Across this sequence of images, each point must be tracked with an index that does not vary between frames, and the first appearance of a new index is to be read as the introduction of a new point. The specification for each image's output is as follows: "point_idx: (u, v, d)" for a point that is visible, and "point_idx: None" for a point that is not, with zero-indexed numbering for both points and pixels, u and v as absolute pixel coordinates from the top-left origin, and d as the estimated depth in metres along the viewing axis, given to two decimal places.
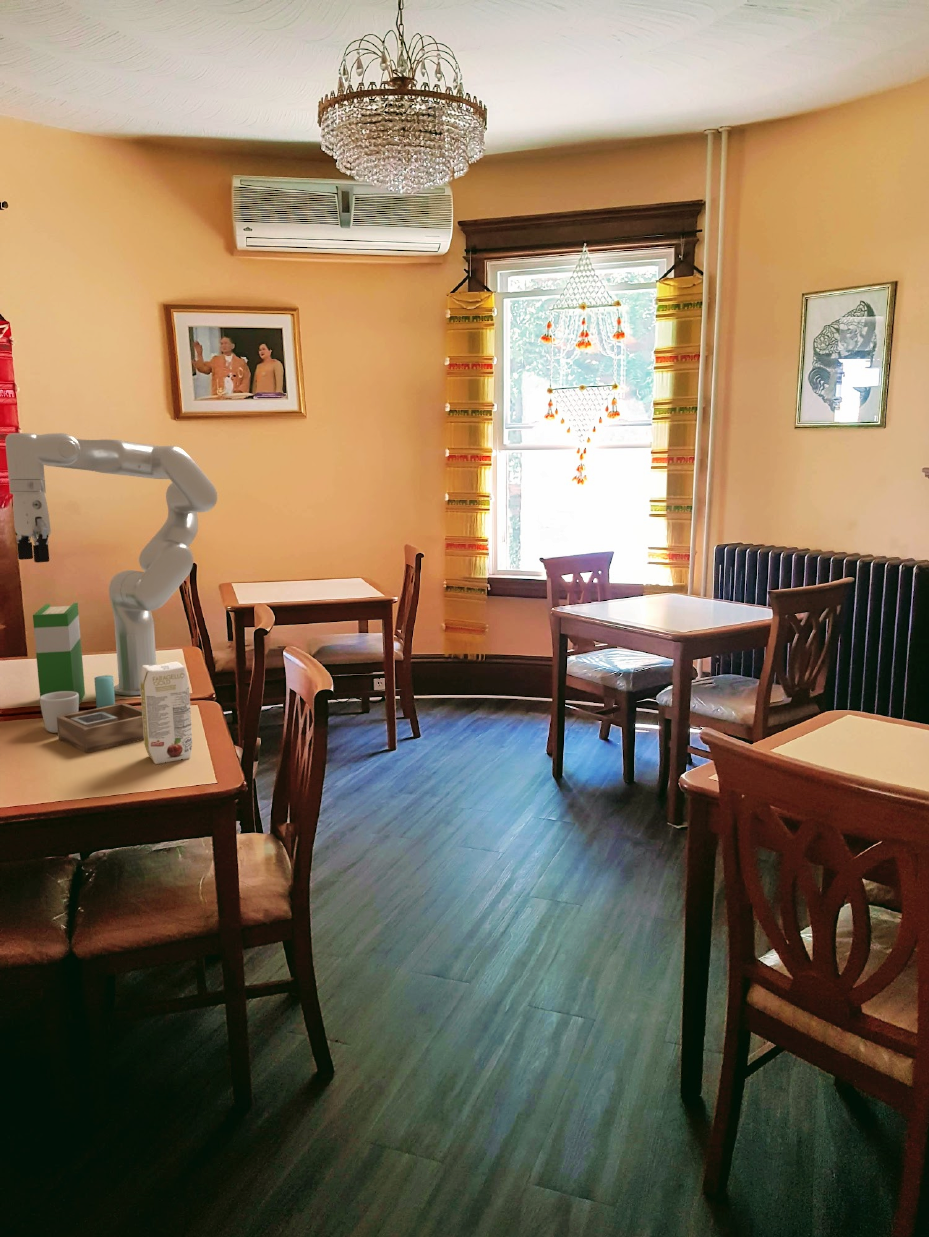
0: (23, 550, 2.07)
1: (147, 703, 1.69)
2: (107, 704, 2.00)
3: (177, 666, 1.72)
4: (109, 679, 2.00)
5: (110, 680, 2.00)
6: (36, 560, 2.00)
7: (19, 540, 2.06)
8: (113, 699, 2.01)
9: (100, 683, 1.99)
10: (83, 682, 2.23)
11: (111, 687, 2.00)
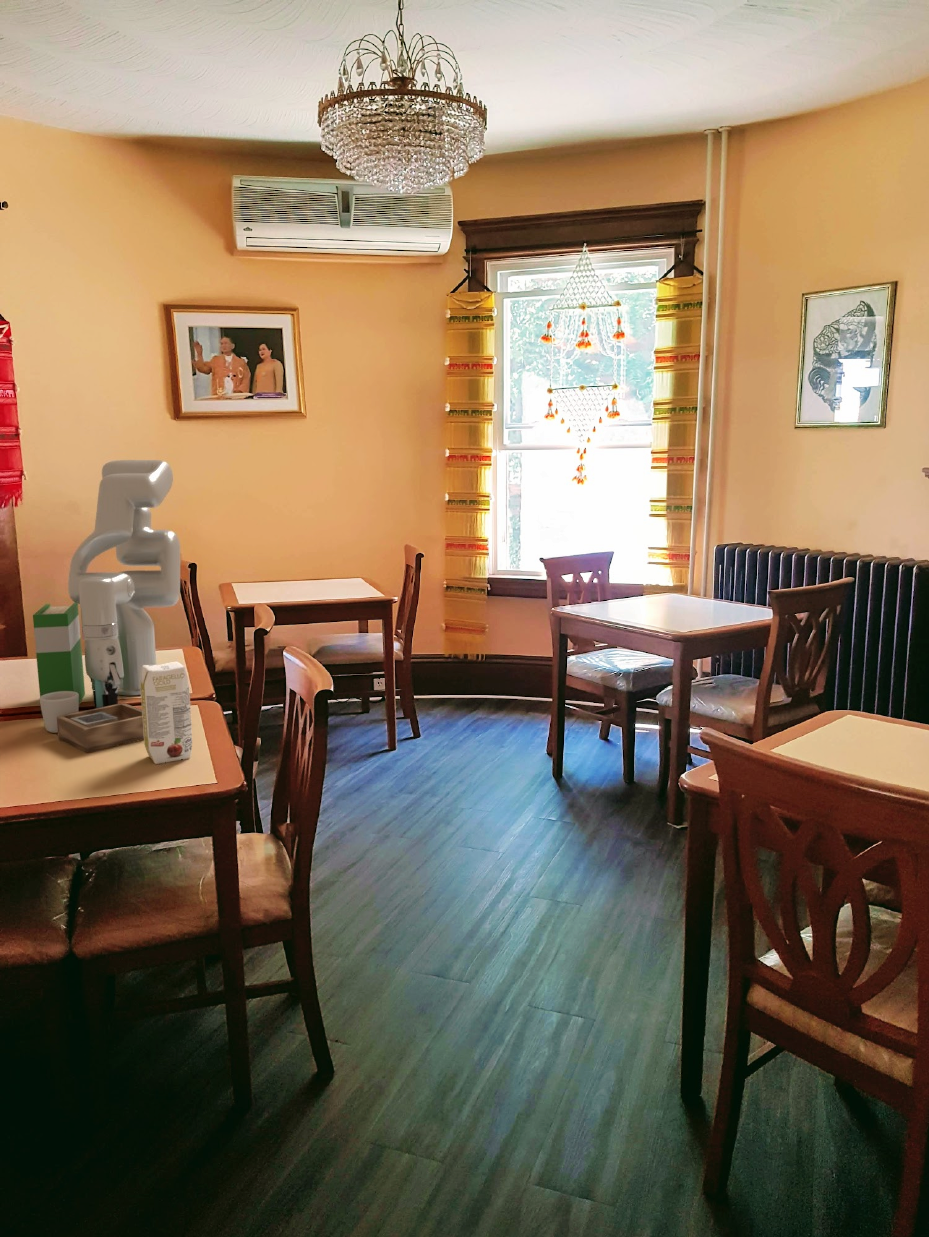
0: None
1: (147, 703, 1.69)
2: None
3: (177, 666, 1.72)
4: (109, 679, 2.00)
5: None
6: None
7: None
8: None
9: (100, 683, 1.99)
10: (83, 682, 2.23)
11: None
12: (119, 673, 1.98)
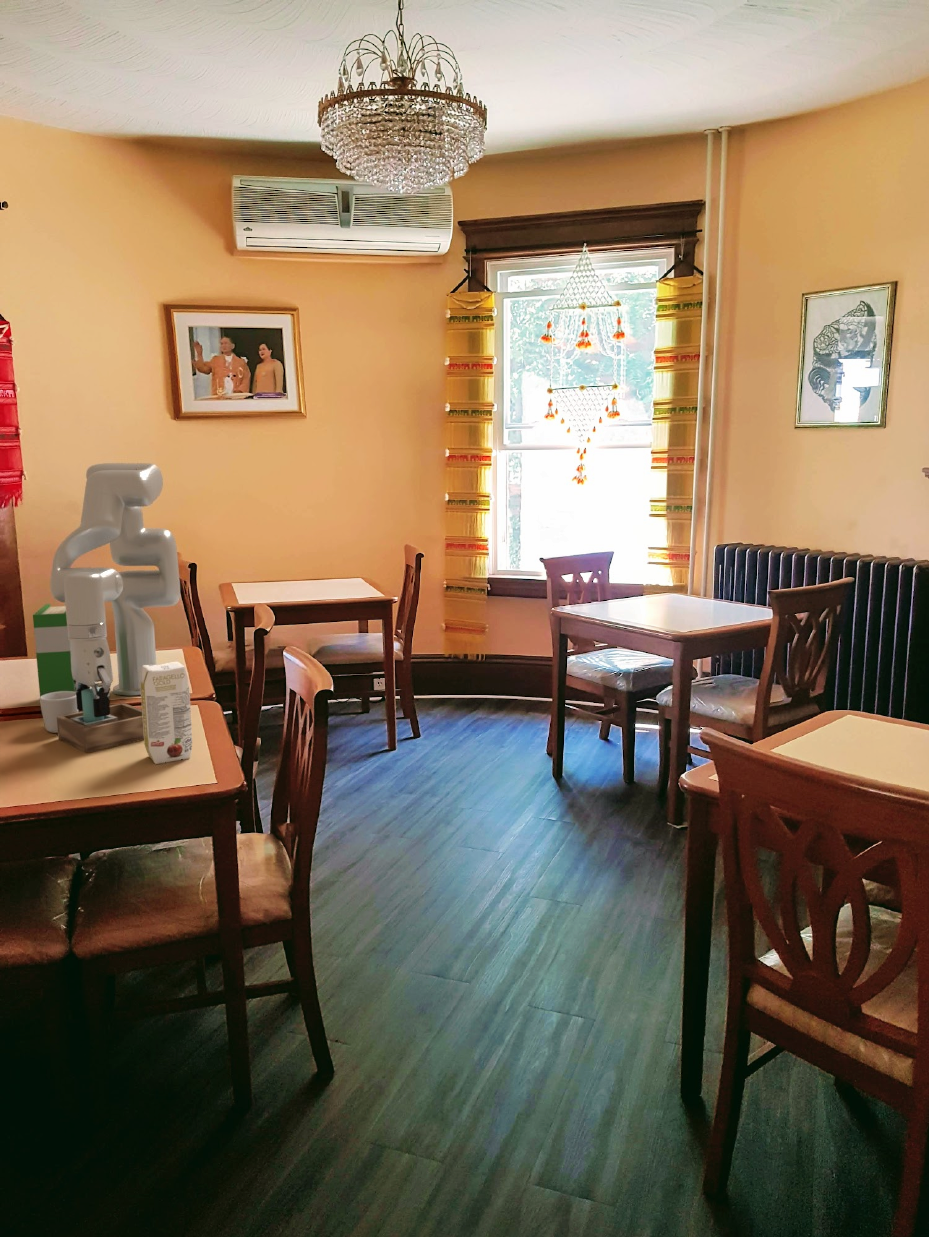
0: None
1: (147, 703, 1.69)
2: (95, 719, 1.84)
3: (177, 666, 1.72)
4: None
5: None
6: (96, 715, 1.81)
7: (78, 688, 1.86)
8: None
9: (88, 696, 1.83)
10: None
11: None
12: (108, 677, 1.81)
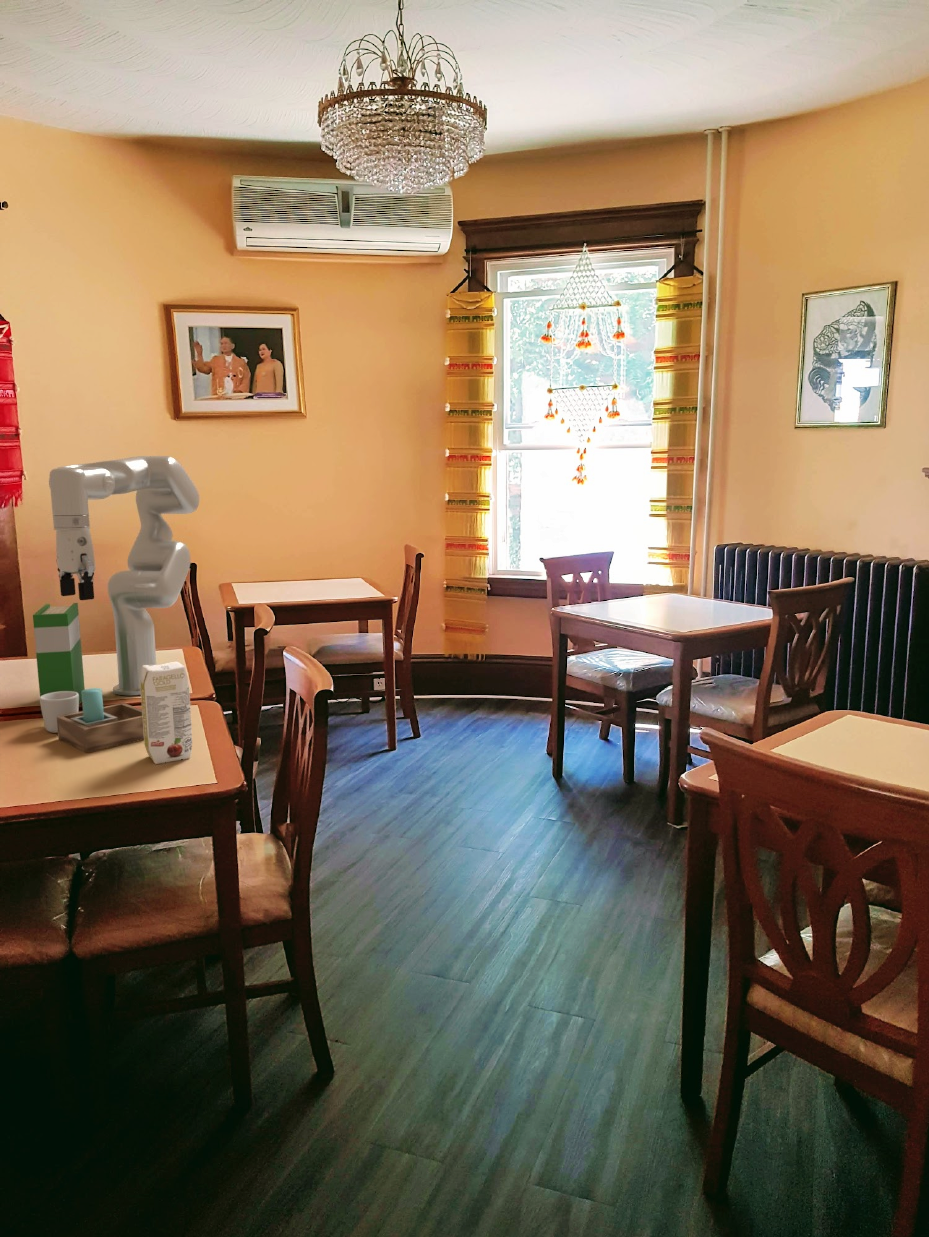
0: (66, 586, 2.02)
1: (147, 703, 1.69)
2: (95, 720, 1.84)
3: (177, 666, 1.72)
4: (97, 692, 1.84)
5: (99, 693, 1.84)
6: (81, 598, 1.95)
7: (62, 576, 2.02)
8: (102, 714, 1.85)
9: (88, 696, 1.83)
10: (83, 682, 2.23)
11: (100, 701, 1.84)
12: None
